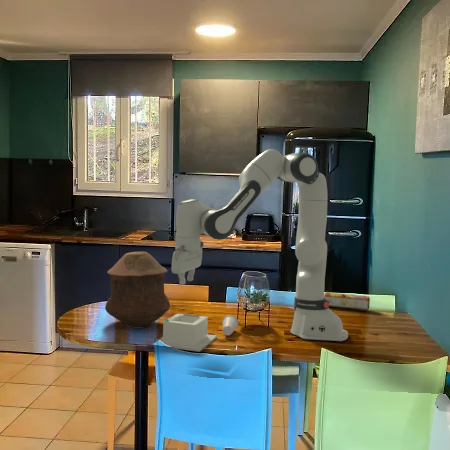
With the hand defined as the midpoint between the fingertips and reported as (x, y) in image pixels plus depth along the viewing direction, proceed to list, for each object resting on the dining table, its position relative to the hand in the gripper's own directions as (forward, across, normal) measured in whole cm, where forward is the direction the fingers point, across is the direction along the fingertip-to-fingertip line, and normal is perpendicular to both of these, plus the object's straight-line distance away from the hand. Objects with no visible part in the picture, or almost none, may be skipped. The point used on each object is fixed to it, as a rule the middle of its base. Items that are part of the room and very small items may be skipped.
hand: (186, 282), depth 189 cm
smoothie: (+19, +10, -13) cm, 25 cm away
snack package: (+15, +73, -58) cm, 95 cm away
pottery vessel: (+22, +11, +25) cm, 35 cm away
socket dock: (+22, 0, 0) cm, 22 cm away
